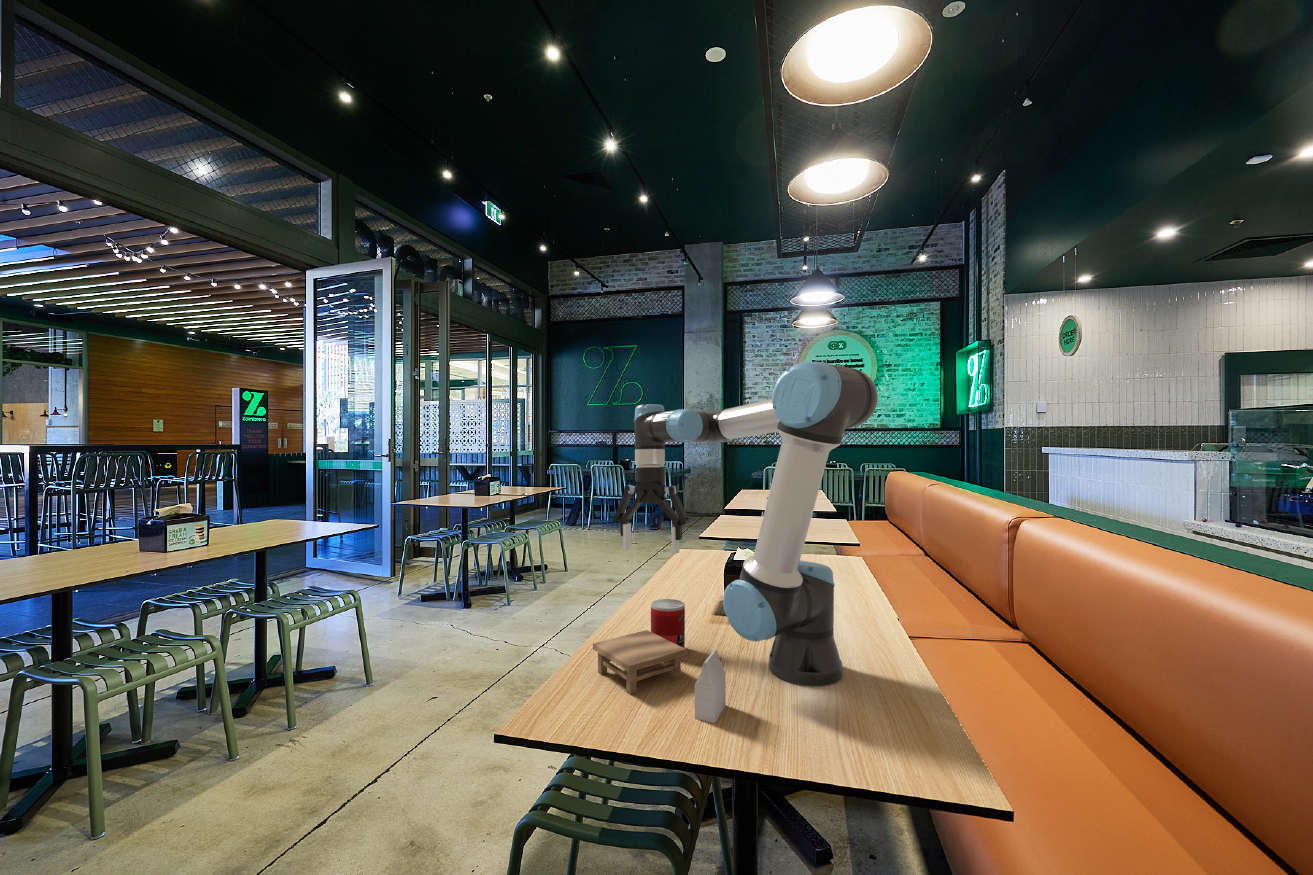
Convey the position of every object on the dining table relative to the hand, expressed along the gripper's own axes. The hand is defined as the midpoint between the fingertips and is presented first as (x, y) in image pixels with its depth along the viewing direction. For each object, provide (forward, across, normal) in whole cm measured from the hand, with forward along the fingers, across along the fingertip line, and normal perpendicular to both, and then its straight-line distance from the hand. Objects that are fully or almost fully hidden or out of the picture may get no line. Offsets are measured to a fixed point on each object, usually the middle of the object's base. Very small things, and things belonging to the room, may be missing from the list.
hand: (650, 551), depth 132 cm
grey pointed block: (+22, -26, +27) cm, 44 cm away
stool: (+22, -7, +20) cm, 30 cm away
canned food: (+22, -7, +5) cm, 23 cm away
